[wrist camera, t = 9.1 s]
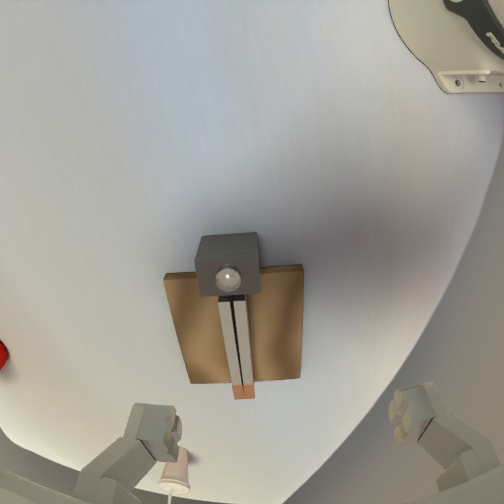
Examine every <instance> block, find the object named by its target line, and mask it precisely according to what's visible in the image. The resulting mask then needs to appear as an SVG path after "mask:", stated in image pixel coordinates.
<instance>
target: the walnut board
mask: <svg viewBox="0 0 504 504" xmlns="http://www.w3.org/2000/svg"><path fill="white" fill-rule="evenodd" d="M259 270H260V286H261V293H258V294H246V296H247V307H248V319H249V330H250V341H251V353H252V362H253V370H254V382H258V381H273V380H285V379H296V378H300V370H301V350H302V325H303V289H304V270H303V267H302V265H289V266H275V267H260V268H259ZM163 281H164V285H165V290H166V294H167V298H168V302H169V306H170V310H171V314H172V318H173V322H174V326H175V330H176V334H177V337H178V341H179V345H180V348H181V352H182V355H183V359H184V362H185V366H186V369H187V373H188V376H189V379H190V383H191V384H207V383H232V380H231V375H230V370H229V364H228V359H227V353H226V348H225V342H224V336H223V331H222V325H221V319H220V313H219V307H218V296H208V297H200V291H199V285H198V280H197V274H196V272H183V273H166V275H165V277H164V279H163ZM233 300H234V295H233Z"/></svg>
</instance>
